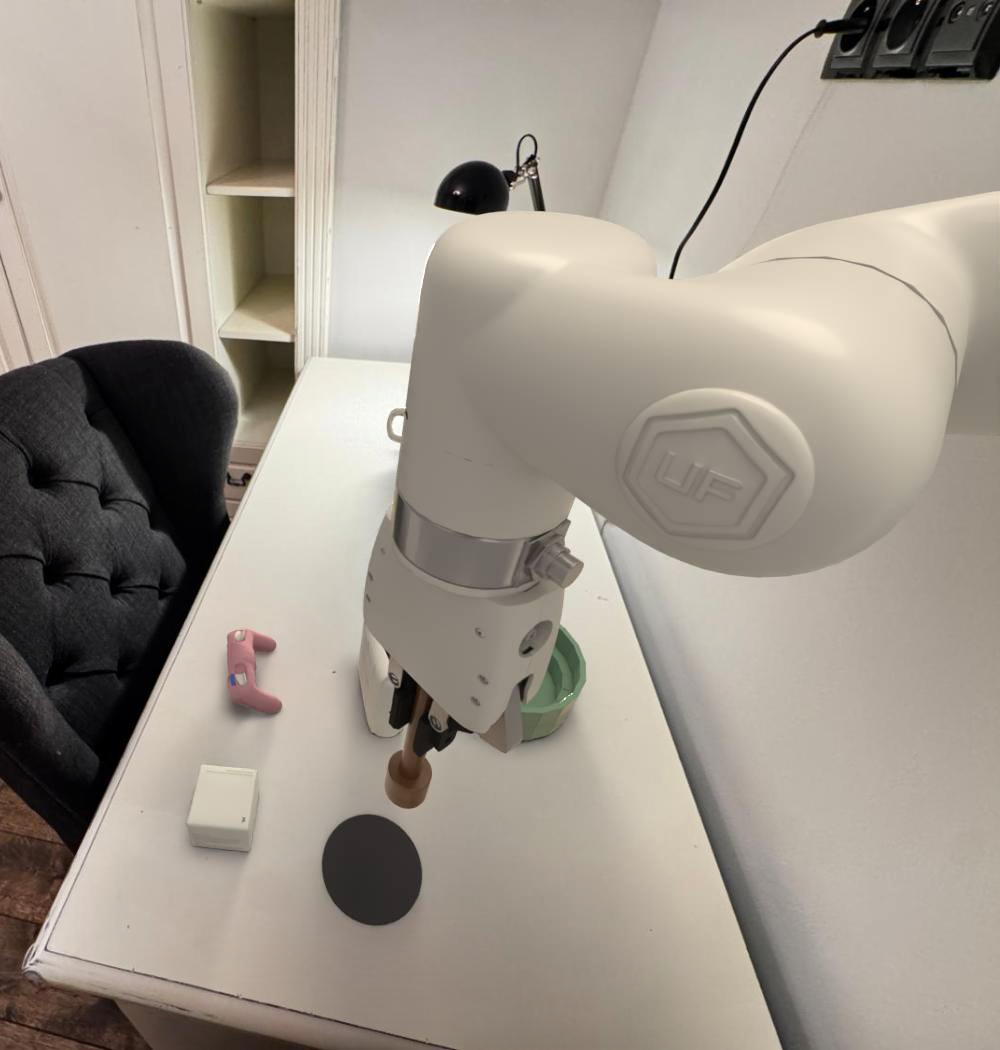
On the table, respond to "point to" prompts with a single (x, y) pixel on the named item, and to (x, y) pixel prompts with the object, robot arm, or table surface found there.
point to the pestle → (410, 762)
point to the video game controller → (248, 670)
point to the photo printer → (376, 685)
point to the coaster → (372, 869)
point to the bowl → (555, 689)
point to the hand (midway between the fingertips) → (420, 728)
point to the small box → (224, 808)
